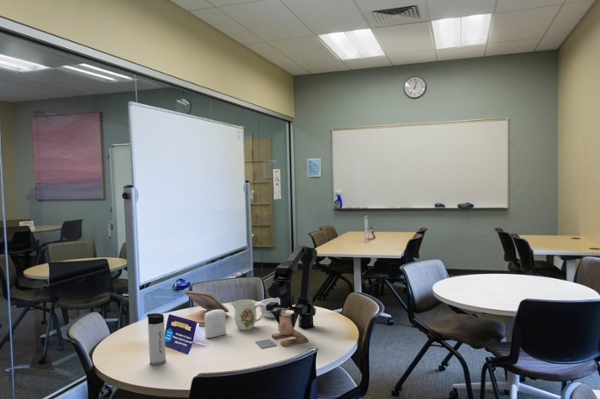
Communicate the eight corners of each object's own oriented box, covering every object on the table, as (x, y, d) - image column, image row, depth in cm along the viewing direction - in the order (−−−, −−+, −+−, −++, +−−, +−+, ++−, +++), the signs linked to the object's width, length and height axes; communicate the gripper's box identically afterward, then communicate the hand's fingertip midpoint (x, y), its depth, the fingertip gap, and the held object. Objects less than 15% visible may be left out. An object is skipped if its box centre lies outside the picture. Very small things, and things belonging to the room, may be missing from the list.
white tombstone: (223, 332, 211) (222, 307, 211) (227, 334, 208) (226, 309, 207) (203, 336, 206) (202, 311, 205) (207, 339, 202) (206, 313, 202)
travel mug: (151, 359, 180) (149, 312, 179) (167, 358, 180) (165, 311, 180) (147, 365, 174) (144, 316, 173) (164, 364, 174) (161, 315, 174)
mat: (269, 339, 199) (269, 338, 199) (276, 345, 191) (276, 345, 191) (255, 342, 196) (255, 341, 196) (261, 348, 188) (261, 348, 188)
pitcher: (268, 327, 215) (267, 300, 215) (233, 334, 208) (232, 305, 207) (261, 321, 225) (259, 295, 225) (227, 327, 218) (226, 300, 217)
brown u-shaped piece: (295, 332, 207) (295, 329, 207) (308, 341, 194) (308, 338, 194) (271, 337, 202) (271, 334, 202) (283, 346, 189) (283, 343, 189)
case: (231, 316, 237) (229, 287, 237) (203, 327, 220) (202, 296, 219) (204, 312, 248) (203, 284, 248) (175, 322, 231) (174, 292, 230)
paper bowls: (254, 317, 233) (253, 303, 233) (270, 310, 246) (270, 296, 246) (277, 321, 225) (277, 306, 225) (293, 313, 238) (292, 299, 238)
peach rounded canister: (284, 328, 202) (283, 313, 201) (296, 330, 199) (296, 314, 199) (273, 335, 193) (273, 319, 193) (286, 337, 190) (286, 320, 190)
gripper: (311, 290, 200) (312, 323, 200) (276, 287, 208) (277, 319, 209) (301, 295, 190) (302, 331, 190) (264, 292, 198) (265, 326, 199)
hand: (286, 326), depth 197 cm, fingers closed on peach rounded canister, 7 cm apart
